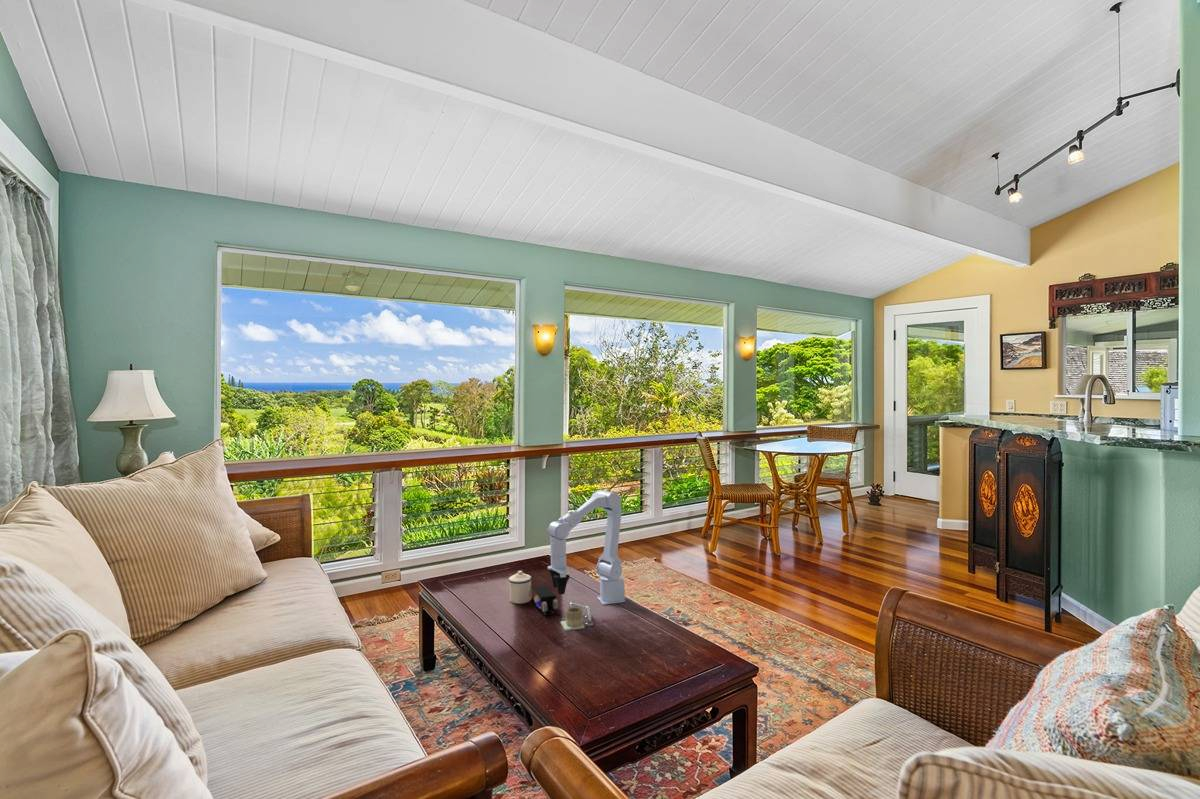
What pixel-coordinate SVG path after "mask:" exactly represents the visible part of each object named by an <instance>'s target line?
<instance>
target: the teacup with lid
mask: <svg viewBox="0 0 1200 799" xmlns="http://www.w3.org/2000/svg"><path fill="white" fill-rule="evenodd" d="M508 581H509V602H511V603H512V604H518V605H519V604H527V603H529V602H531V600H532V576H531V575H529V574H526V573H525V572H523V570H518V571H517V572H516V573H515V574H513V575H510V577H509V578H508Z"/></svg>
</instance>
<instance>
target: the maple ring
mask: <svg viewBox="0 0 1200 799" xmlns="http://www.w3.org/2000/svg"><path fill="white" fill-rule="evenodd" d="M565 621H566V624H567V626H570V627H578V626H580V625H582V624H583V608H580V607H574V606H573V607H570V606H569V607H568V608H566V609H565Z"/></svg>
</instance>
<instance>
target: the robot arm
mask: <svg viewBox="0 0 1200 799" xmlns="http://www.w3.org/2000/svg"><path fill="white" fill-rule="evenodd" d="M621 503H622V497H621V496H620V495H619V493H617V492H615V491H614V492H612V491H608V490H604V489H597V491H595V492H593V493H592V494H591V497H590V498H589V499H588V500H587V501H586V502H584V503H583V504H582V505H581V506H579V508H577V509H576V510H575V509H572V510H571V509H569V510H568V511H567V513H566V514H565V515H563V516H562V517H560V518H558V520H557V521H556V520H554V521H552V522H550V524H549V525H548V527H547V530H546V532H547V534H548V536H549V540H550V565H548V566H547V569H548V572H549V574H550V576H551V580H552V582H551V583H552V586H553V588H556V589H557V593H558V595H565V592H566V589H567V584H568V581H569V579H570V574H567V572H566V571H567V568H568V565H567V540H566V539H567V537H568V536H569V534H570V532H571V530H573V529H574V528H575V527H576V526H578V525H579V524H580V523H581V522H582V518H583V517H584V516H586V515H588V514H589V513H591V512H593V510H595V509H596V508H602V509H603V511H605V513H606V514H607V517H606V518H607V519H606V521H607V522H606V526H605V527H606V528H605V537H604V546H603V553H602V554H600V555H599V556H598V562H597V563H596V565H595V566H596V568H595V570H596V572H597V574H598V575H599V576H598V577H599V579H600V580H599V581H600V582H599V584H600V588H599V589H600V590H599V591H600V596H599V595H598V596H597V600H598V601H599V602H600V603H601V604H602V605H611V604H612V605H613V604H619V603H620V604H621V603H626V595H625V594H626V593H625V592H626V590H625V580H624V578H623V577H622V572H623V567H622V560H621V559H620V557H619V555H618V552H619V551H618V549H619V548H618V547H619V541H620V540H619V539H620V530H621V520H622V512H623V511H622V504H621Z"/></svg>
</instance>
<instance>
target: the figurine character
mask: <svg viewBox="0 0 1200 799" xmlns="http://www.w3.org/2000/svg"><path fill="white" fill-rule="evenodd" d="M531 590H533V592H535V595H534V597H533V600H534V604H536V607H537V608H539V609H540V611H542V612H543V614H544V615H545V616H547V615H548V614H547V612H550V613H551V615H552V614H554V613H555V611H553V609H554V610H557V609H559V601H558V599H556V597H557V595H556V594H555V593H554V592H553V591H552V589H551V588H550V587H549V586H548V585H547V584H543V585H542V584H541V585H536V586H535V585H534V586H531Z"/></svg>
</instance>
